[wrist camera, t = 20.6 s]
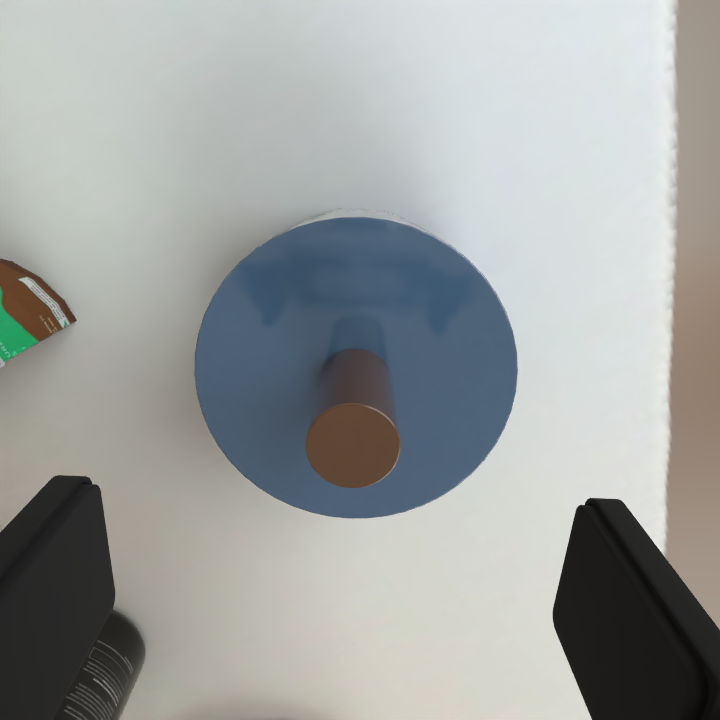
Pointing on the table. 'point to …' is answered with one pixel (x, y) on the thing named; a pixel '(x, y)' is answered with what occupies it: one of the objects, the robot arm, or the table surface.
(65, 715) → the supplement bottle
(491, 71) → the table surface
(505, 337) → the lid
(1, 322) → the food container
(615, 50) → the table surface
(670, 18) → the table surface
